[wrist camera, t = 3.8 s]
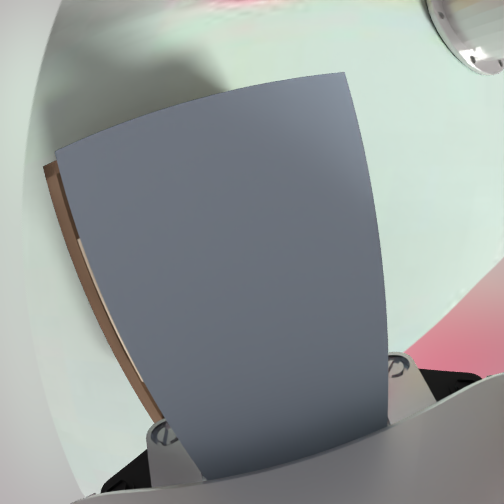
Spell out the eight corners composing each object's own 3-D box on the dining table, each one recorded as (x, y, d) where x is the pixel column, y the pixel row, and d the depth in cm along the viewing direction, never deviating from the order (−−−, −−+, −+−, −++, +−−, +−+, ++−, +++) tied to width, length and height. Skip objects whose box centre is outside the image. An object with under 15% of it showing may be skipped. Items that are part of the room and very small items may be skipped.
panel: (233, 146, 23) (344, 72, 4) (281, 331, 27) (373, 540, 8) (180, 160, 23) (55, 150, 3) (237, 344, 27) (283, 567, 8)
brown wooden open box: (245, 110, 22) (257, 94, 16) (302, 348, 28) (323, 388, 23) (78, 164, 21) (42, 166, 16) (164, 384, 28) (158, 429, 22)
